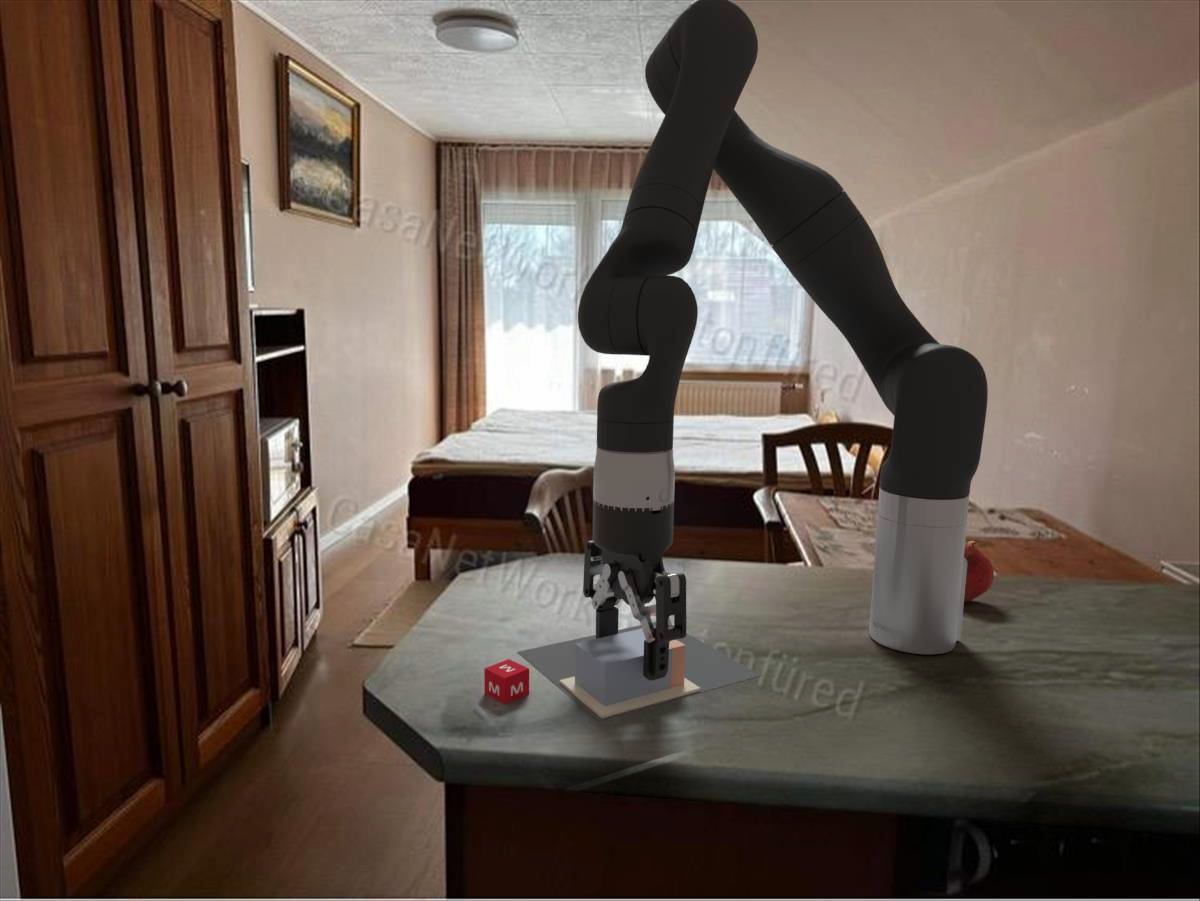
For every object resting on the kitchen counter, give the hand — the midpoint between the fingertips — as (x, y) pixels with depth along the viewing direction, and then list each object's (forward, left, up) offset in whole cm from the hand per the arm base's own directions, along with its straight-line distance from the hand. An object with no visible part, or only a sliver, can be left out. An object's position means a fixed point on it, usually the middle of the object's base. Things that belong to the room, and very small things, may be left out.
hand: (629, 660), depth 78 cm
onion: (-52, 0, -3) cm, 52 cm away
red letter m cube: (+11, -5, -3) cm, 12 cm away
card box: (0, 0, -2) cm, 2 cm away
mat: (-3, -4, -3) cm, 6 cm away
